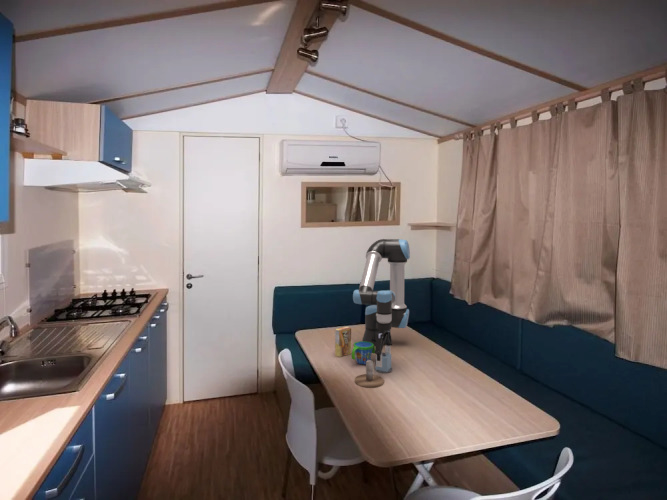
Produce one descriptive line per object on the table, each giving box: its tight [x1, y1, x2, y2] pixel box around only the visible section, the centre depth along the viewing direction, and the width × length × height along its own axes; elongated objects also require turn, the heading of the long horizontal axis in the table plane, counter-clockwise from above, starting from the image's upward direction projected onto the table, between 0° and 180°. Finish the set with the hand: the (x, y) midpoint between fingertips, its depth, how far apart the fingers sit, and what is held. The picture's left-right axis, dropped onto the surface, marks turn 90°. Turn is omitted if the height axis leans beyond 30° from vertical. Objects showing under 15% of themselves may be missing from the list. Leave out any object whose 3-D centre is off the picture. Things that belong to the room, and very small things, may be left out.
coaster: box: [374, 366, 393, 374], centre depth 204 cm, size 9×9×1 cm
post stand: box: [354, 359, 385, 389], centre depth 190 cm, size 14×14×10 cm
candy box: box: [334, 326, 352, 358], centre depth 226 cm, size 9×4×15 cm, turn 129°
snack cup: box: [351, 340, 376, 365], centre depth 214 cm, size 16×10×10 cm
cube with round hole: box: [375, 352, 392, 372], centre depth 204 cm, size 6×6×8 cm
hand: (383, 362), depth 204 cm, fingers open, 13 cm apart
